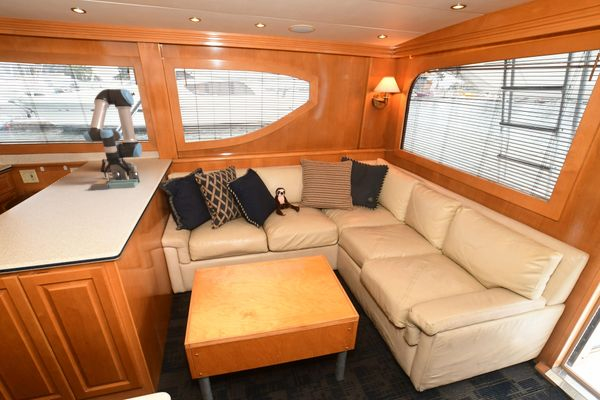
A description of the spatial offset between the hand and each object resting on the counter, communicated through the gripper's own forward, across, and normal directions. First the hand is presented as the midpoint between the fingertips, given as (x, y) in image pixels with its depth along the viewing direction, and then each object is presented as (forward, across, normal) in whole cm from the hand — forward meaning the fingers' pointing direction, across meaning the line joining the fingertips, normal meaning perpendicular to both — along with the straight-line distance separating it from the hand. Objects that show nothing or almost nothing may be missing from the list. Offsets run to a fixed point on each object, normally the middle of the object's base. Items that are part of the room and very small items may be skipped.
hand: (118, 180), depth 204 cm
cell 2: (+1, +13, -3) cm, 13 cm away
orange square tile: (-2, -6, -11) cm, 13 cm away
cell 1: (+1, 0, 0) cm, 1 cm away
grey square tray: (+1, -6, -11) cm, 13 cm away
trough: (+1, +7, -11) cm, 13 cm away
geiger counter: (+2, 0, +8) cm, 8 cm away
